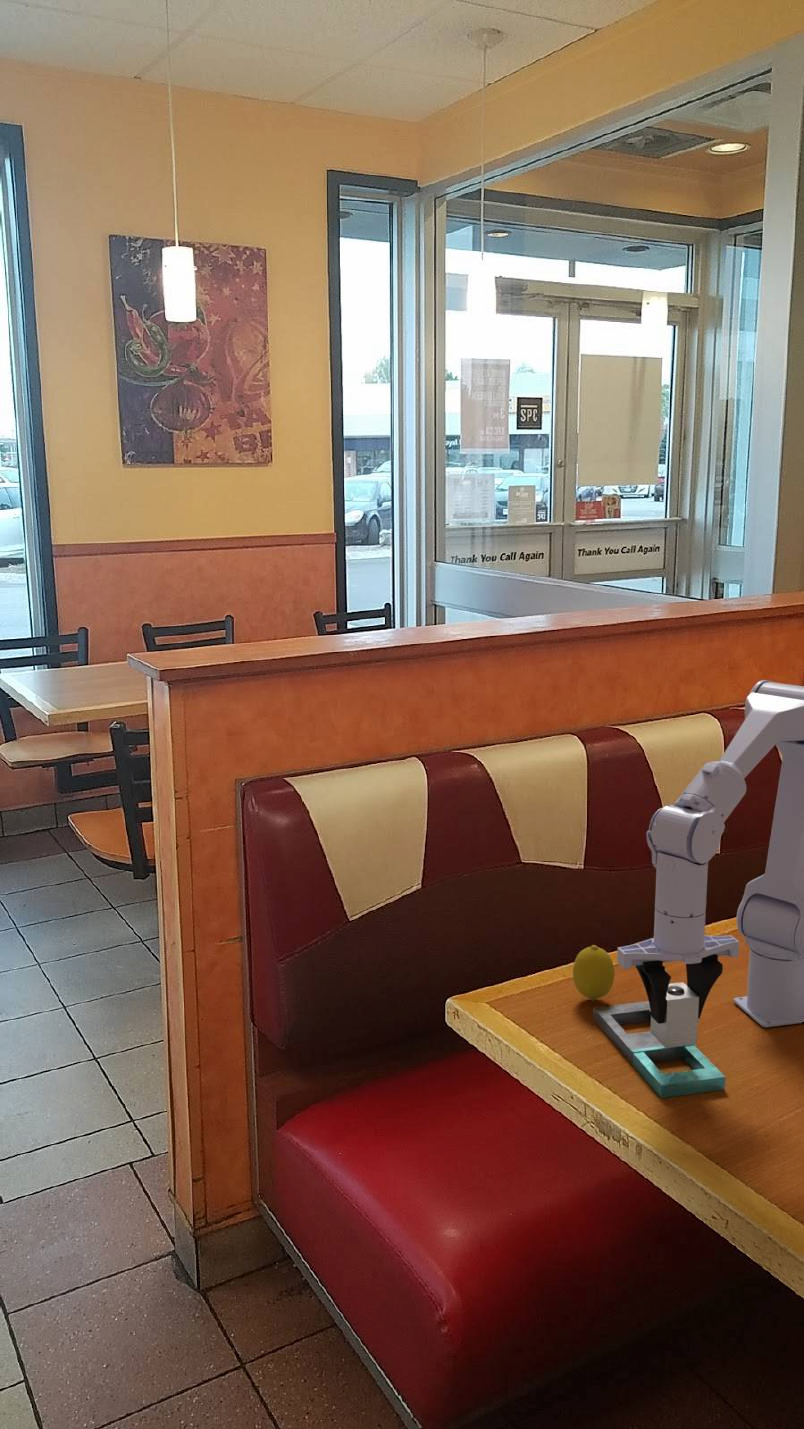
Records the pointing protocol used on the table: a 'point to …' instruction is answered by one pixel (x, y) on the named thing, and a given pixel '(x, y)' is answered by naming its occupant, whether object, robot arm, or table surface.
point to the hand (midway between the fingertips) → (675, 1017)
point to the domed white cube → (678, 1017)
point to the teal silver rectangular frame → (657, 1053)
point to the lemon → (593, 972)
